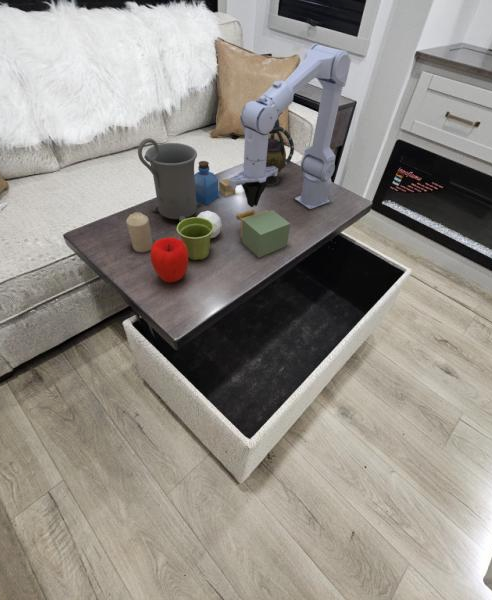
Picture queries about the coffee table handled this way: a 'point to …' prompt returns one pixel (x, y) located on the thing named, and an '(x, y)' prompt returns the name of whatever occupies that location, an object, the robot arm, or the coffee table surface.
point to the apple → (169, 258)
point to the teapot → (277, 152)
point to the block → (226, 188)
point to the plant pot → (196, 236)
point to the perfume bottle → (205, 184)
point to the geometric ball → (214, 219)
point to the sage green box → (265, 233)
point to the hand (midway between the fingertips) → (252, 204)
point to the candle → (139, 232)
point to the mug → (172, 177)
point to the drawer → (245, 216)
